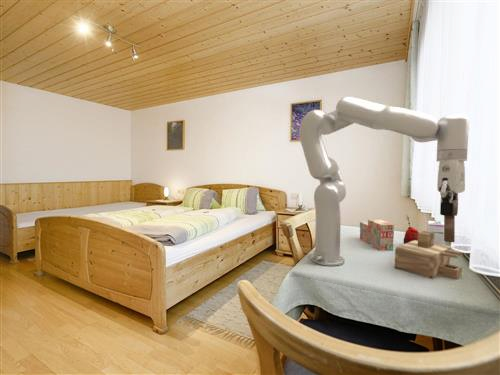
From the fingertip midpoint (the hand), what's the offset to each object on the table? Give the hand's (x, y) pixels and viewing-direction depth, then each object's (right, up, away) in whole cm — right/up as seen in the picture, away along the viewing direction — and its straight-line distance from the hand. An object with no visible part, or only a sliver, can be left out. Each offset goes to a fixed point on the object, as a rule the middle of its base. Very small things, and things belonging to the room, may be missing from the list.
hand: (448, 214), depth 81 cm
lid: (+2, -15, +11) cm, 19 cm away
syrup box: (+15, -21, +26) cm, 37 cm away
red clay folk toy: (+14, -20, +41) cm, 48 cm away
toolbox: (+2, -21, +12) cm, 24 cm away
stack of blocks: (-1, -20, +45) cm, 49 cm away
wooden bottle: (0, -9, 0) cm, 9 cm away
